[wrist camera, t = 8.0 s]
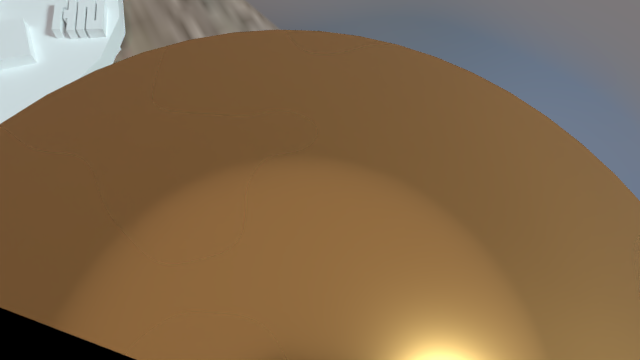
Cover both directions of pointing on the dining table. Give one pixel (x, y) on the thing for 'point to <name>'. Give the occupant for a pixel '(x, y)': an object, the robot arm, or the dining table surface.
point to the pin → (307, 213)
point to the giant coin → (53, 46)
